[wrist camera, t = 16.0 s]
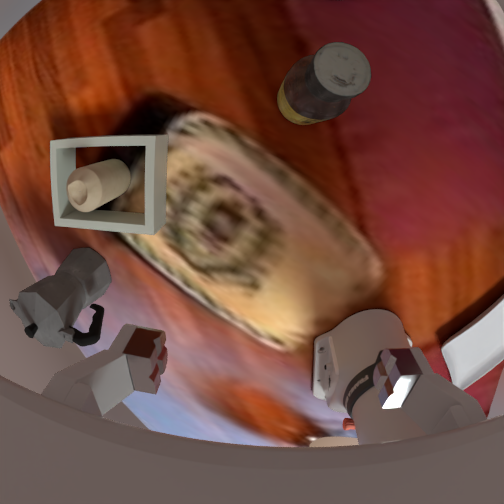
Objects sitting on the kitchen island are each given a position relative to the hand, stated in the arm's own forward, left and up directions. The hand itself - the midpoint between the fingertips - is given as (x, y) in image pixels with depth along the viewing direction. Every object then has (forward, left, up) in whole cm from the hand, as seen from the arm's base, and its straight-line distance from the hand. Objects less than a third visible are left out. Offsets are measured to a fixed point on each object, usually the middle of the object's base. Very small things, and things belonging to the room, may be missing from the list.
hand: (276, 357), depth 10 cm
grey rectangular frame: (0, +22, -31) cm, 38 cm away
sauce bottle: (+12, -3, -31) cm, 34 cm away
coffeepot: (-16, +27, -31) cm, 44 cm away
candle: (0, +22, -31) cm, 38 cm away
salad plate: (-24, -50, -32) cm, 64 cm away
